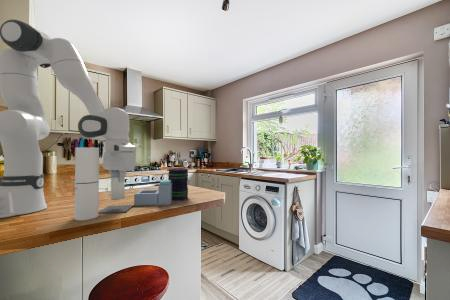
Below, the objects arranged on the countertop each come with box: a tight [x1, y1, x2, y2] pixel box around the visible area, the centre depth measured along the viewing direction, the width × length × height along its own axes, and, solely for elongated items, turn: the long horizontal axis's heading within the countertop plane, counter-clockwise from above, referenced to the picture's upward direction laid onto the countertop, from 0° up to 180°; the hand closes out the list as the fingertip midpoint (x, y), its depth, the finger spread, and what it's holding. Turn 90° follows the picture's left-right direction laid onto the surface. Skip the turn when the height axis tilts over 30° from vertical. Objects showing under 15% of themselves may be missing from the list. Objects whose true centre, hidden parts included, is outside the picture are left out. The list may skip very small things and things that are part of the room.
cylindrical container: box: [73, 146, 100, 221], centre depth 74 cm, size 7×7×25 cm
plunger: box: [159, 179, 171, 185], centre depth 94 cm, size 4×4×7 cm
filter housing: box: [133, 183, 172, 207], centre depth 96 cm, size 16×11×9 cm
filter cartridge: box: [110, 170, 126, 201], centre depth 84 cm, size 5×5×11 cm
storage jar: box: [168, 168, 189, 202], centre depth 105 cm, size 10×10×15 cm
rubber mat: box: [98, 204, 134, 215], centre depth 84 cm, size 10×10×1 cm
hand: (117, 181), depth 84 cm, fingers closed on filter cartridge, 5 cm apart
